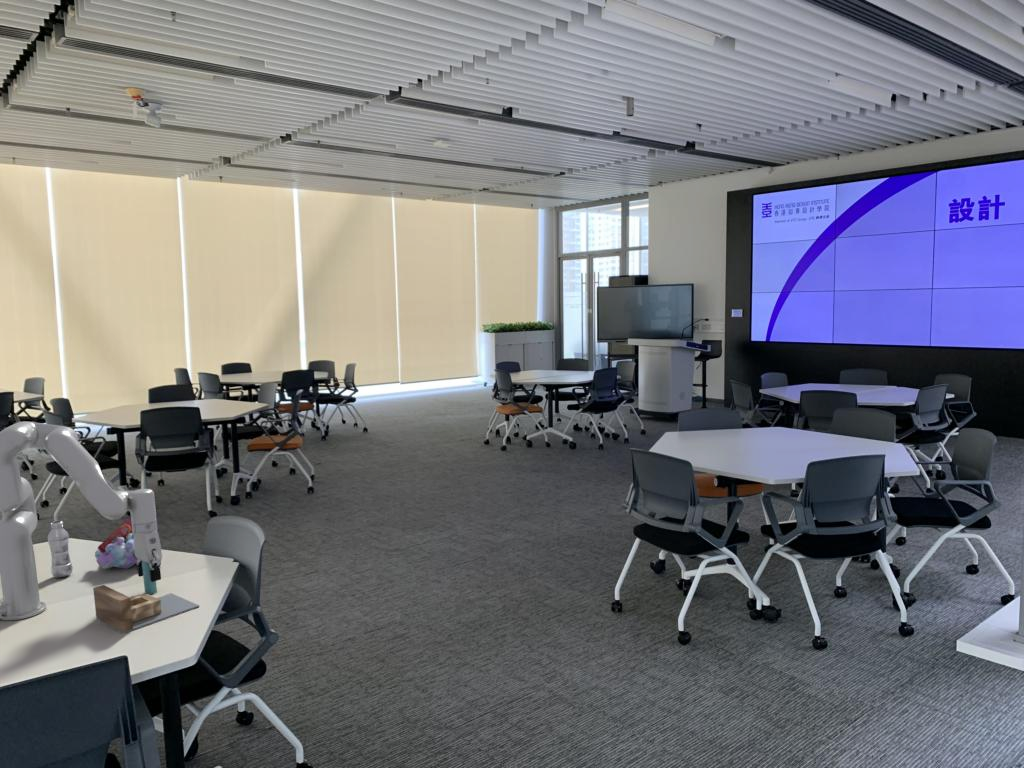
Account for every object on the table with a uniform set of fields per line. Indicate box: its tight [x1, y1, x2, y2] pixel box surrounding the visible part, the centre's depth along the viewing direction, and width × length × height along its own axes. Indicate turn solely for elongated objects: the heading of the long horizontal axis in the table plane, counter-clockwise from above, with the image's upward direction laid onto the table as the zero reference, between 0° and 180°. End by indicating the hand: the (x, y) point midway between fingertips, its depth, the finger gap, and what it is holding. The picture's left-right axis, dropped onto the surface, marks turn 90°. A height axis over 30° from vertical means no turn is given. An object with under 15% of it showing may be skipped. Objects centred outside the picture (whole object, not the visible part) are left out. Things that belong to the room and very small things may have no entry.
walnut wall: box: [92, 584, 133, 632], centre depth 228 cm, size 3×18×10 cm, turn 51°
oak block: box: [130, 592, 162, 622], centre depth 233 cm, size 10×10×4 cm
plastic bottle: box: [47, 520, 74, 578], centre depth 272 cm, size 6×7×20 cm
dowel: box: [142, 558, 158, 595], centre depth 253 cm, size 4×4×14 cm
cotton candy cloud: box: [94, 518, 137, 570], centre depth 282 cm, size 20×22×18 cm
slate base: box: [95, 593, 200, 635], centre depth 236 cm, size 24×18×1 cm
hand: (149, 577), depth 253 cm, fingers open, 8 cm apart
